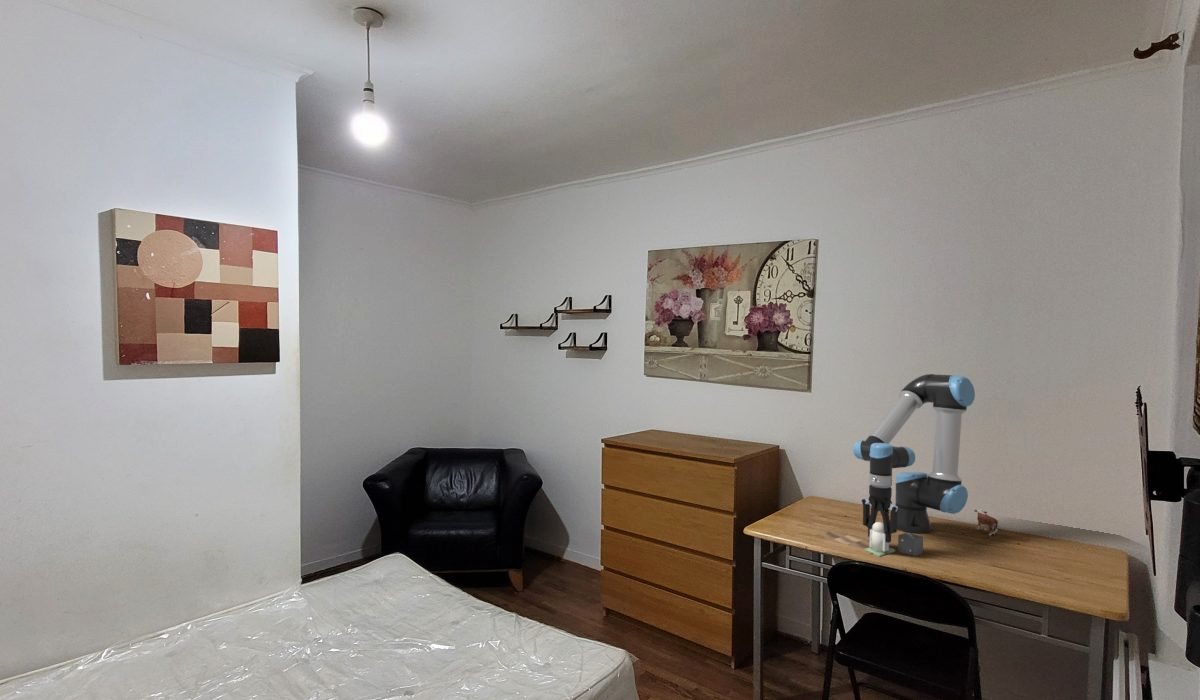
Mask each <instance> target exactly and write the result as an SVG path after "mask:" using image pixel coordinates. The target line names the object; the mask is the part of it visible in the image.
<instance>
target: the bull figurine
mask: <svg viewBox="0 0 1200 700" xmlns="http://www.w3.org/2000/svg"><path fill="white" fill-rule="evenodd" d="M974 512H975V513H977V523H978V524H977V528H976V530H977V531H980V530H981V525H982V526H984V528H983V529H984V531H985V532H987V531H988V530H989V534H988V536H992V535H995V534H996V533H997V532H998V526H999V521H998V519H996V518H995V517H993V516H990V515H988V511H986V510H983V509H982V508H978V509H974Z"/></svg>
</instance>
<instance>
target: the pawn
mask: <svg viewBox="0 0 1200 700" xmlns="http://www.w3.org/2000/svg"><path fill="white" fill-rule="evenodd" d="M872 529H873V530H872V550H874V551H877V552H884V551H883V533H884V532H885V529H884V524H883V522H882V521H875V523H874V524H873V526H872Z"/></svg>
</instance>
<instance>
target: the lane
mask: <svg viewBox="0 0 1200 700" xmlns="http://www.w3.org/2000/svg"><path fill="white" fill-rule="evenodd" d="M818 536H821V537H824V538H827V539H830V540H832V541H836V542H839V543H842V544H845V545H848V546H851V547H854V548H857V549H859V550H862V551H866V552H869V553H870V554H871V555H874V556H877V557H883V556H887V555H889V554H893V553H895V552H896V549H894V548H891V547H889V550H888V551H885V552H877V551H874V550H872V547H870V540H865V539H862V538H859V537H856V536H852V535H850V534H847V533H843V532H839V531H836V530H832V531H828V532H824V533H821V534H818Z"/></svg>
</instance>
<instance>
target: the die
mask: <svg viewBox="0 0 1200 700" xmlns="http://www.w3.org/2000/svg"><path fill="white" fill-rule="evenodd" d="M897 541H898V544H897V545H898V547H897V552H900V553H902V554H903V553H904V554H908V555H910V556H913V557H916V556H917V555H921V554H923V553H924V536H922V535H918V534H916V533H915V534H914V533H912V532H904V533H902V534H901V533H900V534H898V539H897Z"/></svg>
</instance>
